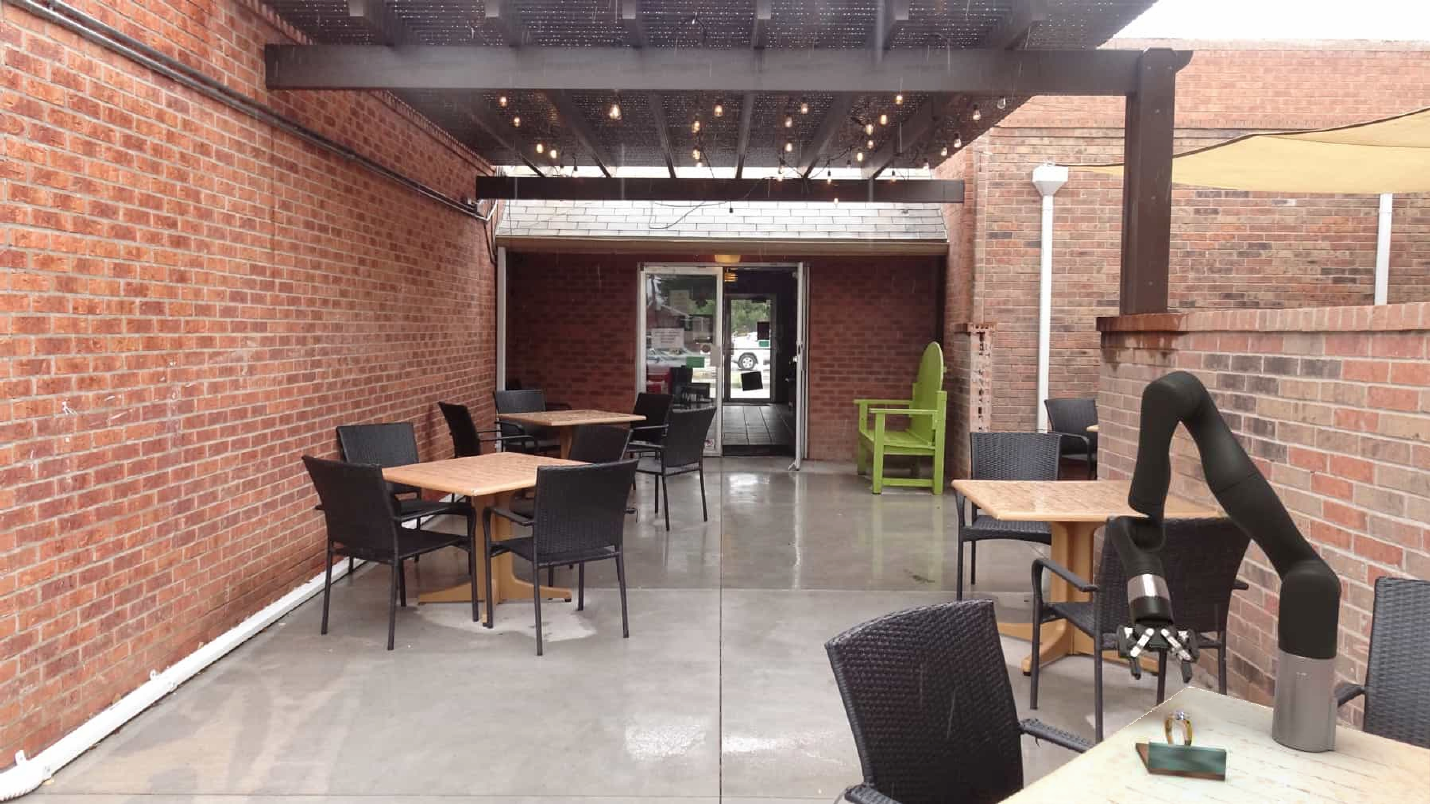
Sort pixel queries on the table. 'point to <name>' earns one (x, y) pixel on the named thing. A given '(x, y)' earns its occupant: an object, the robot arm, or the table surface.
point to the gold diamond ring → (1182, 720)
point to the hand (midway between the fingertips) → (1162, 680)
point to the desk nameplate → (1183, 760)
